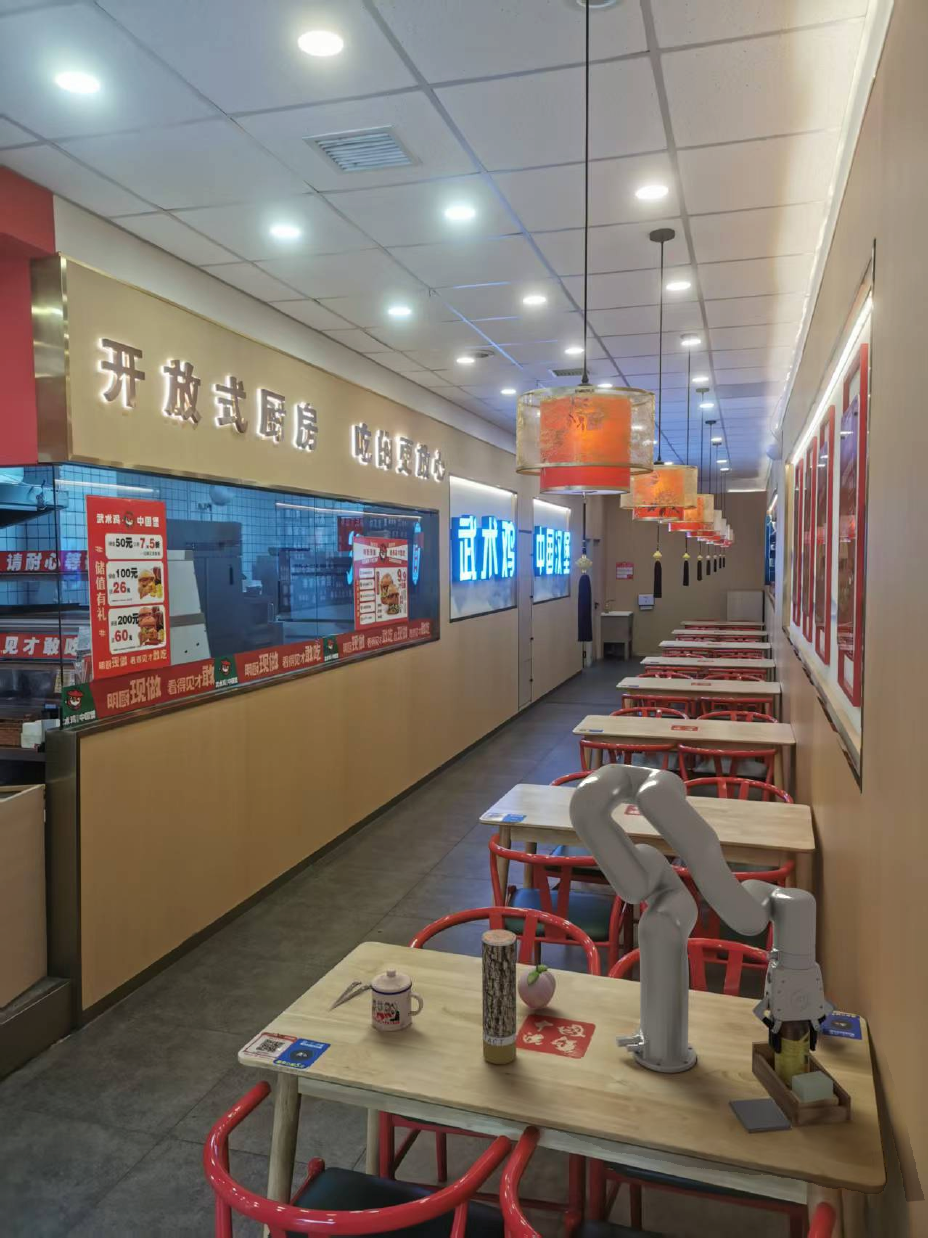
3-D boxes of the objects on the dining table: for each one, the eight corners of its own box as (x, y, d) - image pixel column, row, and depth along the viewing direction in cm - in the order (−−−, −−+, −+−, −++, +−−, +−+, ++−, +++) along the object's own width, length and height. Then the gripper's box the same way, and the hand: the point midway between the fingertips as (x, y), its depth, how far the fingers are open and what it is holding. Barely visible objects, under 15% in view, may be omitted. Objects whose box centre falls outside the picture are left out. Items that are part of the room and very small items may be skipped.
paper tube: (498, 1043, 184) (498, 926, 182) (523, 1056, 179) (522, 936, 178) (475, 1056, 179) (475, 936, 178) (500, 1070, 174) (499, 946, 173)
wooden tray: (793, 1126, 156) (794, 1093, 156) (751, 1071, 173) (752, 1042, 173) (850, 1121, 157) (851, 1089, 157) (803, 1067, 174) (803, 1038, 174)
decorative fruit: (524, 996, 204) (524, 954, 203) (559, 1002, 201) (559, 959, 200) (512, 1015, 195) (511, 971, 195) (547, 1022, 192) (547, 977, 192)
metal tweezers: (357, 983, 212) (356, 976, 212) (373, 988, 210) (373, 980, 210) (311, 1022, 197) (311, 1013, 197) (328, 1027, 195) (328, 1018, 194)
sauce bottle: (812, 1098, 164) (813, 995, 163) (776, 1095, 166) (778, 992, 164) (806, 1078, 171) (807, 978, 169) (772, 1075, 172) (773, 975, 171)
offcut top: (804, 1103, 158) (804, 1087, 157) (791, 1092, 161) (792, 1076, 161) (832, 1097, 159) (833, 1081, 159) (820, 1086, 163) (820, 1070, 162)
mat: (747, 1132, 155) (747, 1128, 155) (729, 1104, 163) (729, 1101, 163) (791, 1128, 156) (791, 1125, 156) (770, 1101, 164) (770, 1098, 164)
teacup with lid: (363, 1028, 191) (362, 975, 190) (382, 1008, 199) (381, 957, 198) (414, 1038, 186) (413, 984, 186) (431, 1017, 195) (430, 966, 194)
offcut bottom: (796, 1121, 158) (796, 1102, 158) (786, 1109, 162) (786, 1091, 161) (838, 1117, 159) (838, 1098, 159) (827, 1105, 163) (828, 1087, 162)
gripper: (758, 968, 162) (757, 1063, 163) (847, 962, 164) (846, 1056, 165) (741, 950, 169) (740, 1041, 170) (826, 945, 171) (825, 1035, 172)
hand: (792, 1047), depth 168 cm, fingers closed on sauce bottle, 6 cm apart
